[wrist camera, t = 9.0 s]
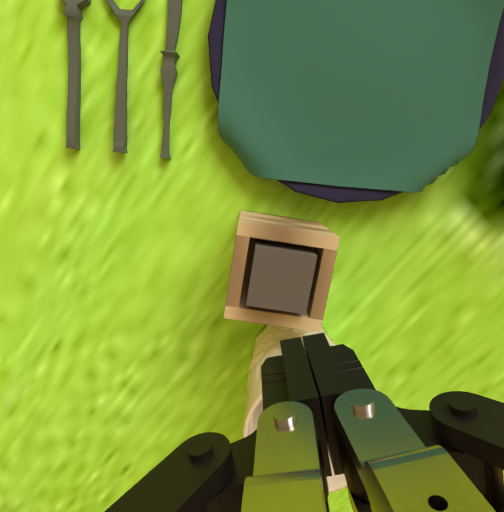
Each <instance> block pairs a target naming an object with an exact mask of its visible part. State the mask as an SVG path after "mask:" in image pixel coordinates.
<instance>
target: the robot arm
mask: <svg viewBox="0 0 504 512" xmlns="http://www.w3.org/2000/svg"><path fill="white" fill-rule="evenodd" d="M302 338H303V343H302V339H301V337H296V338H291V339H285V340H280V346H281V352H282V355H279V356H274V357H268V358H266V360H265V361H264V363H263V364H262V366H261V377H262V378H261V381H262V401H263V412H262V413H261V414H260V416H259V418H258V424H257V429H256V430H255V431H254V432H253V433H251V434H250V435H248V436H247V437H245V438H243V439H241V440H238V441H236V442H234V443H231V444H230V442H229V440H228V439H227V438H226V437H225V436H224V435H222V434H219V433H214V432H207V433H202V434H198V435H195V436H193V437H191V438H189V439H187V440H186V441H184V442H183V443H182V444H181V445H180V446H178V447H177V448H176V449H175V450H174V451H173V452H172V453H171V454H169V455H168V456H167V457H166V458H165V459H164V460H163V461H161V462H160V463H159V464H158V465H157V466H156V467H155V468H153V469H152V470H151V471H150V472H149V473H148V474H147V475H146V476H144V477H143V478H142V479H141V480H140V481H139V482H138V483H136V484H135V485H134V486H133V487H132V488H131V489H130V490H128V491H127V492H126V493H125V494H124V495H123V496H122V497H121V498H119V499H118V500H117V501H116V502H115V503H114V504H113V505H111V506H110V507H109V508H108V509H107V510H106V511H105V512H330V509H329V503H328V494H329V488H328V482H327V477H329V476H332V471H331V465H330V460H331V463H332V467H333V470H334V474H335V475H340V474H344V476H345V479H346V482H347V488H348V494H349V500H350V503H351V506H352V509H353V511H354V512H504V480H503V470H504V403H502V402H499V401H496V400H492V399H489V398H486V397H483V396H480V395H477V394H473V393H469V392H461V391H452V392H446V393H442V394H439V395H437V396H436V397H434V398H433V399H432V400H431V402H430V407H429V408H430V411H426V410H408V409H402V408H398V407H395V405H394V404H393V403H392V401H391V400H390V399H389V398H388V397H387V396H386V395H385V394H383V393H381V392H379V391H376V389H375V388H374V386H373V384H372V382H371V381H370V379H369V377H368V375H367V374H366V372H365V370H364V368H363V367H362V365H361V363H360V361H359V360H358V358H357V356H356V354H355V352H354V351H353V350H352V349H350V348H349V347H347V346H345V345H343V344H341V345H335V346H330V345H329V343H328V341H327V338H326V336H325V334H324V333H318V334H313V335H307V336H302ZM303 345H304V346H303ZM328 452H329V454H328ZM329 456H330V460H329Z"/></svg>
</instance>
